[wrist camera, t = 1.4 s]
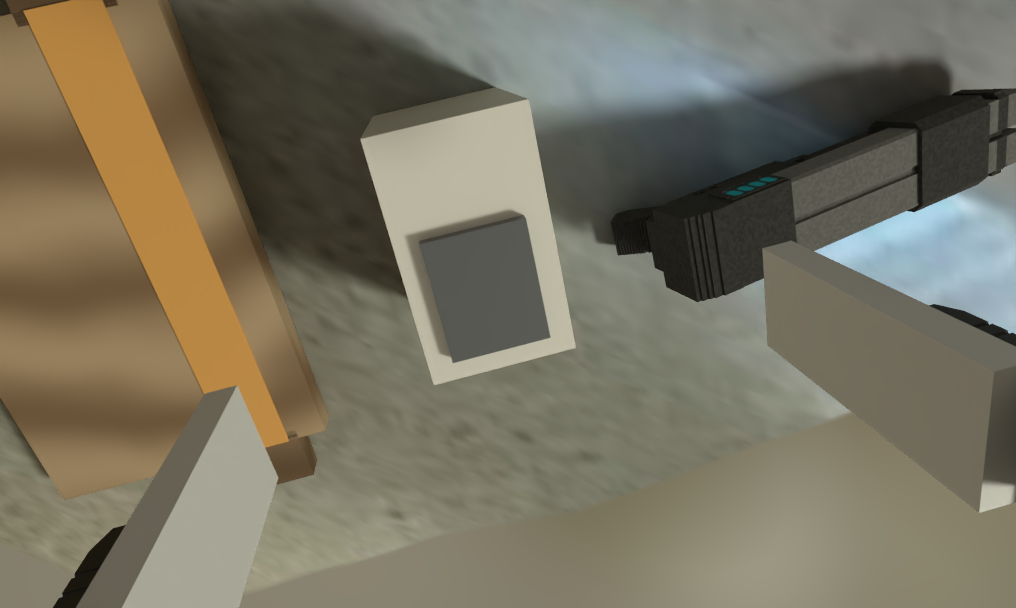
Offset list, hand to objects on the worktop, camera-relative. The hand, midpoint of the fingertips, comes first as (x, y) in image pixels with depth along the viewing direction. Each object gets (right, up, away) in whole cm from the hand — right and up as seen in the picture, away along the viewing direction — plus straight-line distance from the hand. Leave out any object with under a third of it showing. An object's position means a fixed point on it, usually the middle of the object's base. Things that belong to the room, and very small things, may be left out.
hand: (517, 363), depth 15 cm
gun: (+15, +9, +19) cm, 26 cm away
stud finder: (-3, +7, +17) cm, 18 cm away
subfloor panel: (-19, +3, +15) cm, 25 cm away
